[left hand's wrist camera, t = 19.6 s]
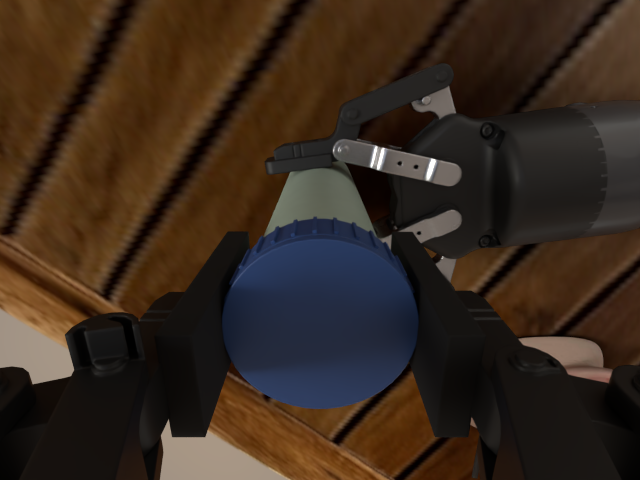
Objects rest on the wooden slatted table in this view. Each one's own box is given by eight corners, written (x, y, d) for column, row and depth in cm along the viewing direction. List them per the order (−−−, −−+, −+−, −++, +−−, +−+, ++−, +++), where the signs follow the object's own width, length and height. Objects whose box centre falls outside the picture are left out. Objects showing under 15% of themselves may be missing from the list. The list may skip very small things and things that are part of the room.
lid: (202, 321, 12) (183, 357, 10) (291, 179, 10) (286, 194, 9) (343, 395, 13) (346, 438, 11) (443, 275, 11) (464, 305, 10)
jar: (329, 224, 29) (344, 404, 12) (277, 193, 29) (210, 338, 11) (363, 173, 28) (436, 292, 11) (309, 138, 27) (290, 206, 10)
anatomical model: (451, 463, 33) (490, 353, 29) (438, 426, 36) (470, 324, 32) (598, 478, 33) (656, 372, 29) (570, 440, 37) (618, 342, 33)
